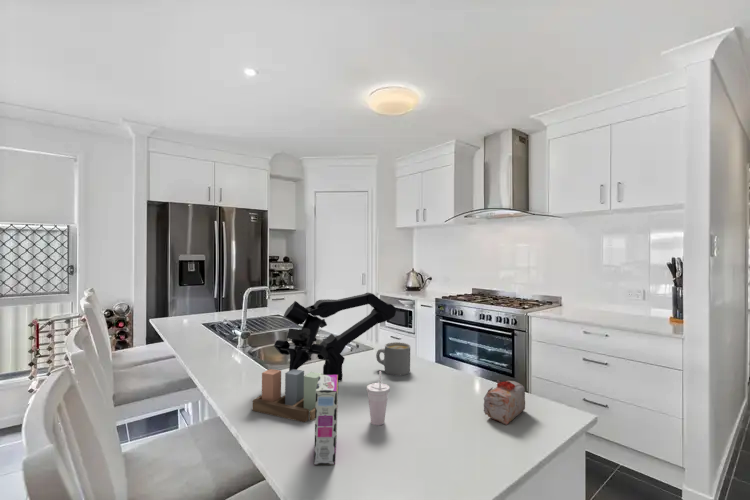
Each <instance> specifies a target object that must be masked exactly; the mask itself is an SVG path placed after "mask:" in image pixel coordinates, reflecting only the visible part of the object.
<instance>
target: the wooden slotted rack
mask: <svg viewBox="0 0 750 500" xmlns="http://www.w3.org/2000/svg"><path fill="white" fill-rule="evenodd" d="M252 411H253V412H256V413H260V414H265V415H270V416H274V417H279V418H282V419H283V418H284V419H288V420H293V421H296V422H301V423H307V422H308V421H311V422H312V421H315V408H314V409H312V410H311V411H309V409H305V408H304V398H303V399H302V400H300V401H299V402H297V403H296V404H294V405H293V406H291V405H286V404H285V394H284V395H283V396H281V398H279V399H278V400H276V401H275V402H271V401H266V400H262V394H261V395H260V396H257V397H256V398H254V399H253V400H252Z"/></svg>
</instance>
